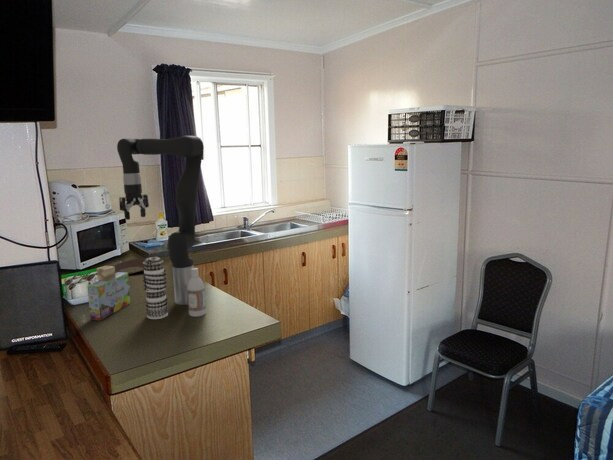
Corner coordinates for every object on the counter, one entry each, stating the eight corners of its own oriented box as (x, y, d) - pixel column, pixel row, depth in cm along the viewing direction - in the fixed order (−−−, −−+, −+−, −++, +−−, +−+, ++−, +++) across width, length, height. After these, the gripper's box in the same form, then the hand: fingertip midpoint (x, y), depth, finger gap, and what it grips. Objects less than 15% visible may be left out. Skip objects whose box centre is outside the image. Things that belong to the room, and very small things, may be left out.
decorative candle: (173, 315, 185) (168, 258, 180) (152, 321, 178) (147, 262, 174) (163, 309, 191) (158, 254, 186) (142, 315, 185) (137, 258, 180)
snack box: (102, 321, 180) (98, 286, 177) (89, 320, 181) (85, 285, 178) (131, 303, 200) (128, 271, 197) (120, 302, 201) (117, 271, 198)
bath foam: (185, 316, 183) (182, 270, 180) (194, 310, 190) (191, 266, 186) (200, 317, 181) (197, 271, 178) (208, 312, 188) (206, 267, 184)
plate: (101, 269, 259) (100, 263, 258) (147, 261, 277) (146, 255, 277) (117, 279, 238) (117, 273, 238) (166, 269, 257) (166, 263, 256)
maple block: (115, 277, 188) (114, 266, 187) (105, 281, 184) (104, 269, 183) (107, 276, 190) (106, 265, 189) (97, 279, 186) (96, 268, 185)
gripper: (124, 184, 191) (128, 221, 194) (150, 182, 204) (153, 216, 206) (113, 184, 195) (117, 220, 198) (139, 181, 207) (142, 215, 210)
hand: (135, 218), depth 202 cm, fingers open, 8 cm apart
